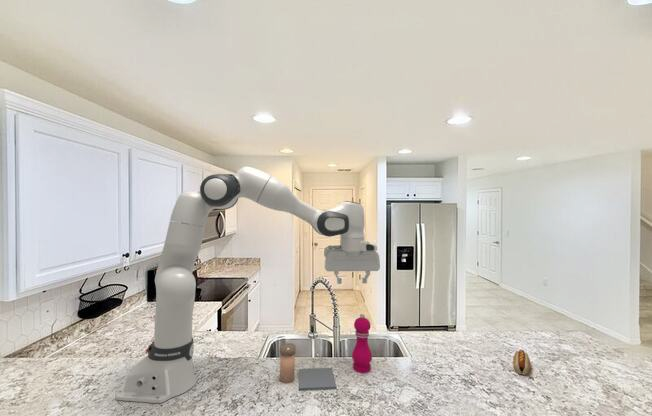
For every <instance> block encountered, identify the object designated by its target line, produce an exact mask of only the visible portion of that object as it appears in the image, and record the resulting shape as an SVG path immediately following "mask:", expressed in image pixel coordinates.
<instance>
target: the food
mask: <svg viewBox="0 0 652 416" xmlns="http://www.w3.org/2000/svg"><path fill="white" fill-rule="evenodd" d="M512 360H513V361H512V364H513V365H512V366H513V369H514V370H515V371H516V372H517V374H519V375H523V376H526V375H528V374H529V373H530V372H531V367H532V363H531V360H530V357H529V353H527V352H525V350H523V349H519V350H515V353H514V355H513V359H512Z"/></svg>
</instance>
